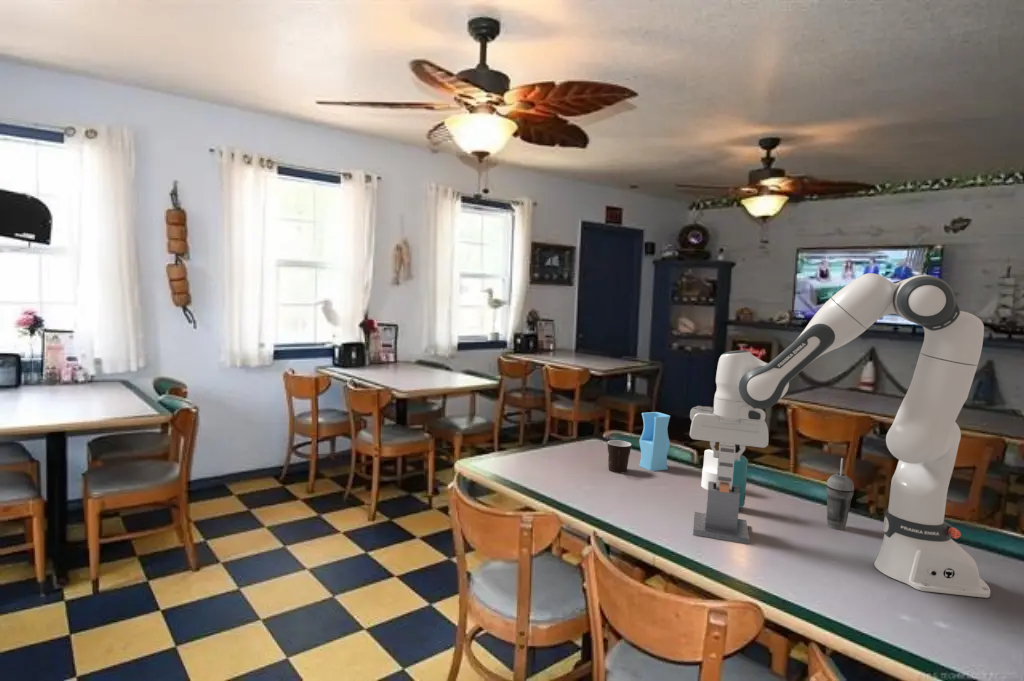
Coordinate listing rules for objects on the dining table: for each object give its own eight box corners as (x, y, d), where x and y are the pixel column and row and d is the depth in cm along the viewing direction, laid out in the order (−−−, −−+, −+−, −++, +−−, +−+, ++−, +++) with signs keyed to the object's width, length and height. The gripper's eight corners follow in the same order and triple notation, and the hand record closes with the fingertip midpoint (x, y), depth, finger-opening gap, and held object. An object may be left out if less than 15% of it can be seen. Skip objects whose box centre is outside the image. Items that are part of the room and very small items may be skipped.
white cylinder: (695, 485, 202) (698, 451, 201) (711, 481, 208) (714, 448, 207) (718, 493, 195) (721, 458, 194) (734, 489, 200) (737, 454, 199)
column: (728, 521, 165) (734, 444, 163) (728, 527, 161) (735, 447, 159) (713, 519, 166) (719, 442, 165) (713, 524, 162) (719, 445, 160)
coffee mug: (612, 465, 221) (613, 439, 220) (633, 470, 216) (635, 443, 215) (597, 472, 211) (599, 444, 211) (619, 477, 206) (621, 449, 206)
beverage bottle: (746, 513, 178) (752, 448, 176) (722, 510, 179) (728, 445, 178) (742, 506, 184) (747, 443, 183) (719, 503, 186) (725, 440, 184)
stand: (745, 525, 168) (749, 477, 167) (748, 544, 155) (753, 493, 154) (694, 516, 173) (698, 470, 172) (693, 534, 160) (697, 484, 158)
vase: (637, 465, 223) (641, 412, 221) (653, 463, 227) (657, 411, 225) (651, 471, 216) (655, 417, 214) (668, 469, 220) (672, 416, 218)
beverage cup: (823, 528, 169) (830, 460, 167) (820, 520, 176) (826, 454, 174) (852, 533, 166) (860, 464, 165) (847, 524, 173) (854, 457, 172)
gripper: (690, 406, 161) (686, 456, 163) (771, 415, 155) (767, 467, 156) (691, 403, 167) (687, 450, 169) (769, 411, 161) (764, 461, 162)
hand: (726, 458), depth 162 cm, fingers closed on column, 4 cm apart
